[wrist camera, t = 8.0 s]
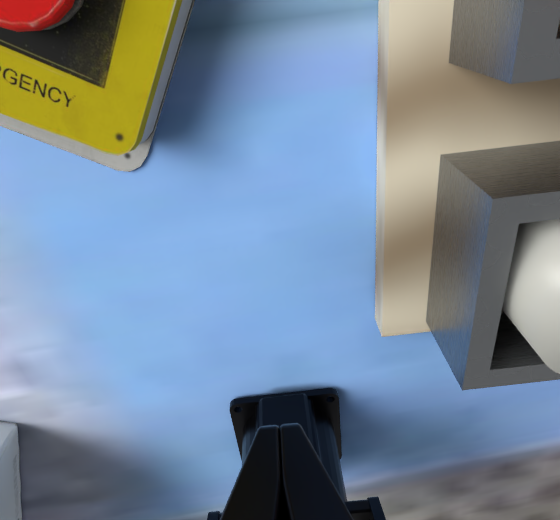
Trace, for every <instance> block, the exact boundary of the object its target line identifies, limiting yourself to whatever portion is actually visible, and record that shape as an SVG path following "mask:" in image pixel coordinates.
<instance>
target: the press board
mask: <svg viewBox="0 0 560 520" xmlns="http://www.w3.org/2000/svg"><path fill="white" fill-rule="evenodd" d="M453 7H454V0H379V6H378V96H377V186H376V276H375V320H376V322H377V325H378V328H379V330H380V333H381V336H382V337H385V336H394V335H403V334H412V333H420V332H429V331H431V330H430V328H429V326H428V325H427V323H426V313H427V302H428V290H429V279H430V268H431V256H432V245H433V234H434V222H435V211H436V200H437V188H438V177H439V166H440V155H441V154H450V153H458V152H467V151H475V150H484V149H492V148H501V147H510V146H518V145H527V144H535V143H544V142H552V141H560V78H558V79H550V80H541V81H533V82H524V83H516V84H510V83H507V82H504V81H501V80H498V79H495V78H492V77H489V76H486V75H483V74H480V73H477V72H474V71H471V70H468V69H465V68H462V67H459V66H456V65H453V64H450V63H449V52H450V41H451V29H452V18H453Z"/></svg>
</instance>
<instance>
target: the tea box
mask: <svg viewBox="0 0 560 520" xmlns="http://www.w3.org/2000/svg"><path fill="white" fill-rule="evenodd" d="M19 459H20V457H19V444H18V427H17V424H16V423H10V422H2V421H0V520H22V510H21V495H20V493H21V481H20V473H19Z"/></svg>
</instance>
